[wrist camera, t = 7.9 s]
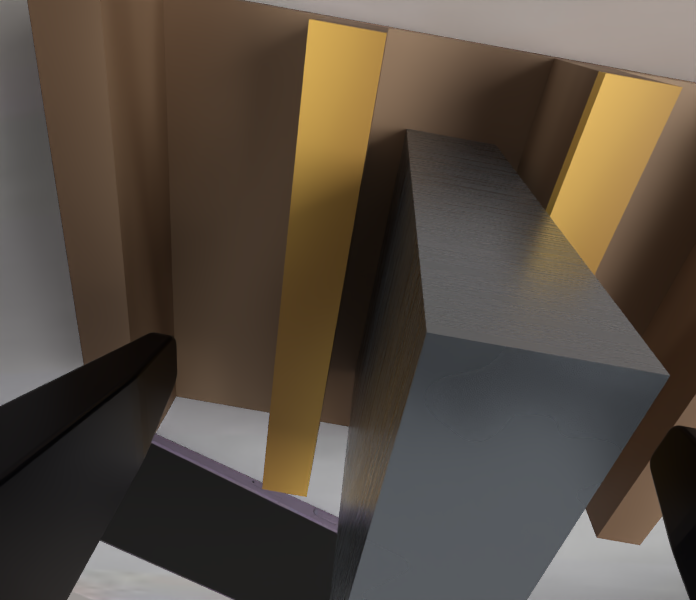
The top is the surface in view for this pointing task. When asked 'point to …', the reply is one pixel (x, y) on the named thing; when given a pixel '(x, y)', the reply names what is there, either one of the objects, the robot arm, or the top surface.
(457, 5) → the top surface
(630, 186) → the rack
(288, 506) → the smartphone
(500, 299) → the block
